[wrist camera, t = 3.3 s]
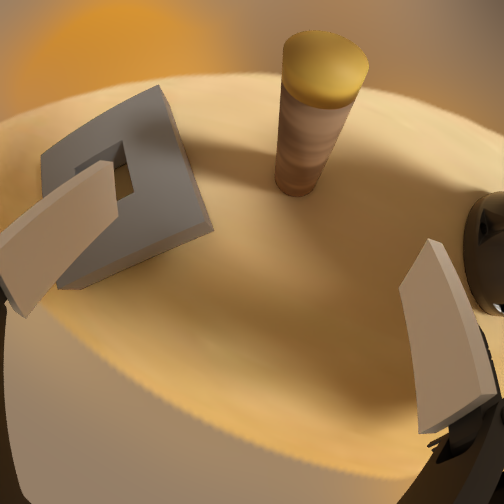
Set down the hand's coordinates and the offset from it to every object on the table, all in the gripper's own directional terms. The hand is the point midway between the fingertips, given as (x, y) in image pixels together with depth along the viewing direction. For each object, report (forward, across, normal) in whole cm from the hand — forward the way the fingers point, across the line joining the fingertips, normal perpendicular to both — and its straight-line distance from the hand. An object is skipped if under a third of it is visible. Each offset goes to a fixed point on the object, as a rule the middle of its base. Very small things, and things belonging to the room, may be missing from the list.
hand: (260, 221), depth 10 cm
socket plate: (+13, -16, -8) cm, 22 cm away
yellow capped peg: (+16, +1, -4) cm, 17 cm away
